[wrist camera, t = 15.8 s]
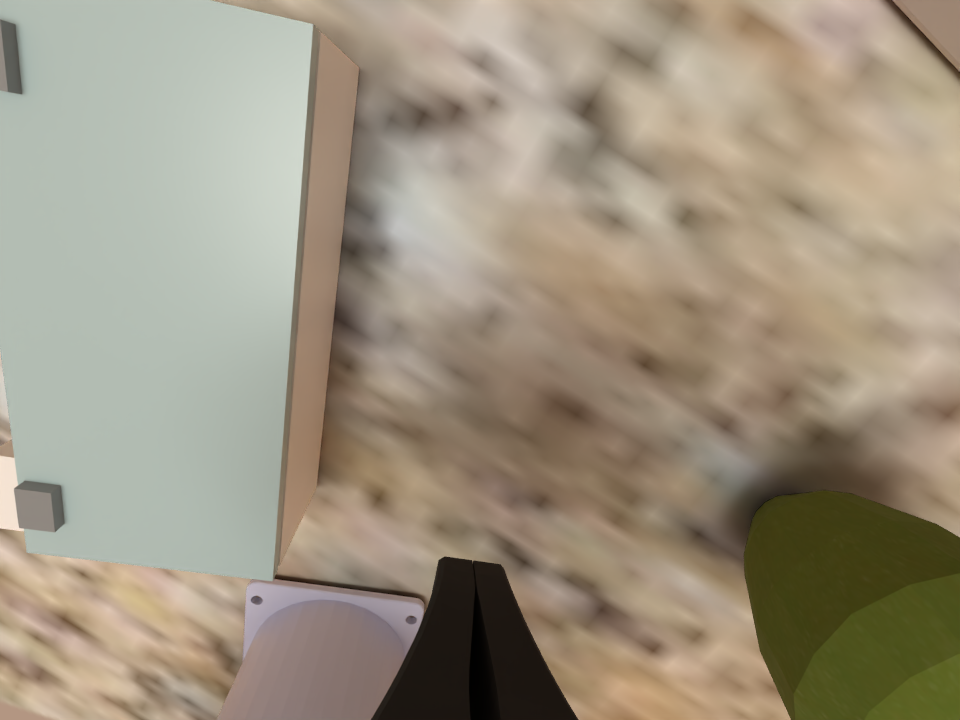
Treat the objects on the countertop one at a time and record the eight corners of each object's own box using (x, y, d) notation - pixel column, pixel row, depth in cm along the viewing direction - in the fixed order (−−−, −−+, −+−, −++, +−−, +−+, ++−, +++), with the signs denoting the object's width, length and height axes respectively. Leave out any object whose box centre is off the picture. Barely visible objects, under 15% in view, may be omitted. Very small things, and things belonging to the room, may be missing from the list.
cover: (277, 570, 17) (268, 590, 16) (39, 541, 17) (16, 561, 16) (318, 29, 12) (308, 19, 11) (-33, -52, 11) (-73, -70, 10)
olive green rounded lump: (878, 571, 24) (1212, 897, 13) (700, 610, 25) (882, 953, 14) (880, 411, 21) (1311, 663, 10) (677, 459, 22) (888, 747, 11)
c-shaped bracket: (316, 487, 22) (279, 565, 18) (94, 454, 21) (-2, 527, 17) (359, 68, 16) (321, 32, 12) (63, 1, 16) (-91, -62, 11)
